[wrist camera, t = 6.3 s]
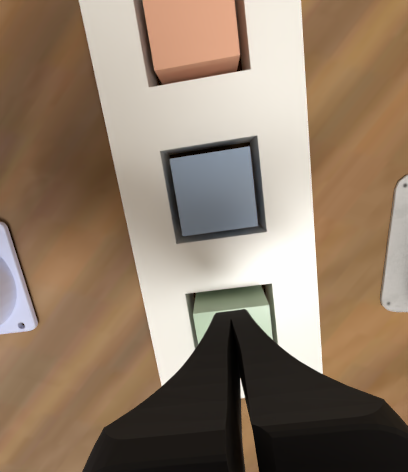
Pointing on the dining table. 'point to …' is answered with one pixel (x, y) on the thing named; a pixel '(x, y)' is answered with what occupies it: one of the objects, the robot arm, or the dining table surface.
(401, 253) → the emergency button
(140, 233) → the button panel
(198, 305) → the sage-green button
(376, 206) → the dining table surface
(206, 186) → the slate-blue button
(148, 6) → the terracotta button
